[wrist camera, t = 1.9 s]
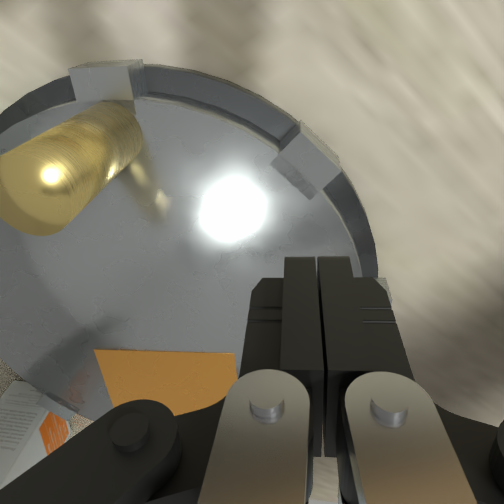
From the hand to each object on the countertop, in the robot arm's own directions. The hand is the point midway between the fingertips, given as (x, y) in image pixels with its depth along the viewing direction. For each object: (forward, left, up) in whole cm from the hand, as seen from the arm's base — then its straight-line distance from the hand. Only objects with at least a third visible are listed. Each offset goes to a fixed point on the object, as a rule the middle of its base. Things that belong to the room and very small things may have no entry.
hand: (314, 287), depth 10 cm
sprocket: (+9, +9, -12) cm, 18 cm away
